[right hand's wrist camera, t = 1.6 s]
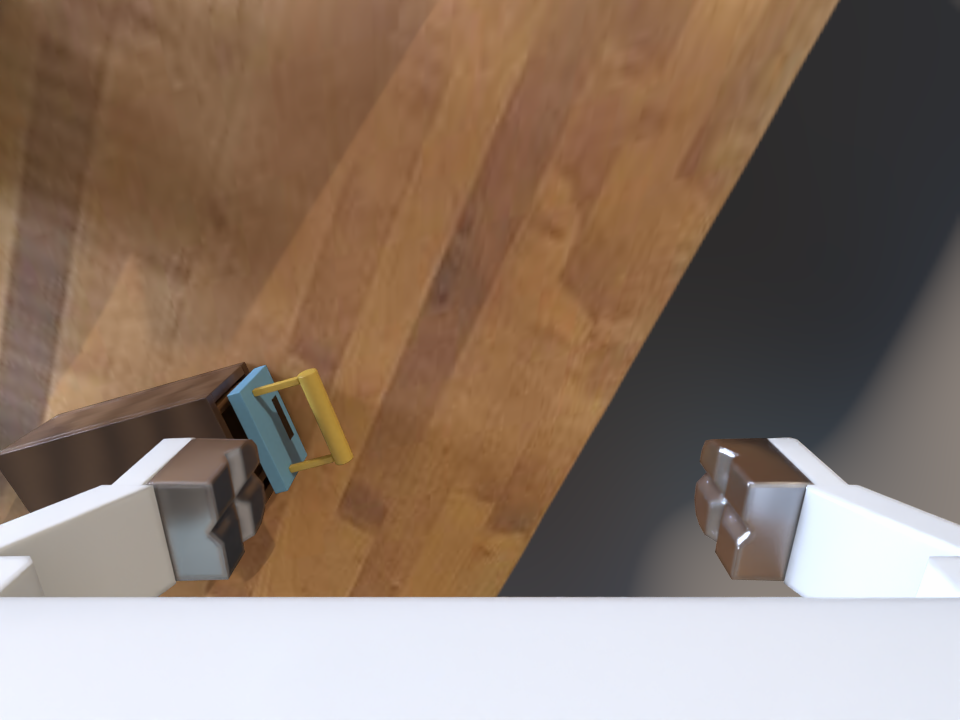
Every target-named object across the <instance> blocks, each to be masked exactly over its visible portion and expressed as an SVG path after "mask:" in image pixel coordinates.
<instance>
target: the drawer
mask: <svg viewBox="0 0 960 720" xmlns="http://www.w3.org/2000/svg"><path fill="white" fill-rule="evenodd" d="M299 384H301V387H302V389H303V391H304V393H305V396H306V398H307V400H308V402H309V405H310V407H311V409H312V412H313V414H314V416H315V418H316V421H317V423H318V425H319V427H320V430H321V432H322V434H323V436H324V439H325V441H326V443H327V446H328V448H329V450H330V452H331V454H330V455H326V456H322V457H318V458H315V459H311V460H307V461H304V460H305V458H306V456H307V453H306V451H305V449H304V447H303V445H302V442H301V440H300V438H299V436H298V434H297V432H296V429H295V427H294V425H293V423H292V421H291V418H290V416H289V414H288V412H287V410H286V408H285V405H284V403H283V401H282V399H281V397H280V395H279V392H278V390H281V389H285V388H289V387H292V386H296V385H299ZM215 403H216V405H217V407H218V409H219V411H220V413H221V415H222V417H223V419H224V421H225V423H226V425H227V427H228V429H229V431H230V433H231V435H232V437H233V439H252V440H253V441H254V442H255V444H256V445H257V448H258V453H259V458H260V463H259V464H258V466H257V467H256V469H255V470H254V474H255V475H256V476H257V477H258V478H259V479H260V480H261V481H262V482H263V481H264V479H265V478H266V476H267V477H268V479H269V481H270V483H271V485H272V487H273V489H274V491H275V493H276V494H277V493H281V492H284V491H288V489H289V487H290V485H291V484H292V482H293V480H294V478H295V476H296V475H297V473H298V471H301V470H305V469H309V468H313V467H316V466H320V465H324V464H328V463H332V462H334V461H335V464H337V465H343V464H346V463H348V462H349V461H351V460H352V458H353V454H352V452H351V449H350V447H349V445H348V442H347V440H346V438H345V435H344V433H343V431H342V428H341V426H340V423H339V421H338V419H337V416H336V414H335V412H334V409H333V407H332V405H331V402H330V400H329V398H328V395H327V393H326V391H325V388H324V386H323V383H322V381H321V379H320V376H319V374H318V372H317V369H315V368H313V369H308V370H305V371H303V372H301V373H300V374H299V375H298V376H297V377H294V378H290V379H287V380H283V381H280V382H276V383H274V381H273V379H272V377H271V375H270V373H269V371H268V368H267V366H266V365H264V366H261V367H257V368H254V369H253V370H252V371H251V372H250V373H249V374H248V375H247V376H246V377H245V378H244V379H243V380H242V381H241V382H237V383H234V384H233V385H232V386H231V387H230V388H229V389H228V390H227V391H226V392H225V393H224V394H223V395H222V396H221V397H220V398H219V399H218V400H217V401H216V402H215Z"/></svg>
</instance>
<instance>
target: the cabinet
mask: <svg viewBox="0 0 960 720" xmlns="http://www.w3.org/2000/svg"><path fill="white" fill-rule="evenodd" d="M248 374H249V371H248V368H247V366H246V364H245V362H243V363H239V364H236V365H232V366H229V367H225V368H221V369H218V370H214V371H211V372H207V373H204V374H200V375H197V376H193V377H189V378H186V379H182V380H179V381H175V382H172V383H168V384H165V385H161V386H158V387H154V388H150V389H147V390H143V391H140V392H136V393H133V394H129V395H126V396H122V397H119V398H115V399H111V400H108V401H104V402H101V403H97V404H94V405H90V406H87V407H83V408H80V409H76V410H72V411H69V412H65V413H62V414H58V415H57V416H55V417H54V418H52V419H50V420H49V421H47V422H46V423H44V424H43V425H41V426H39V427H38V428H36V429H35V430H33V431H32V432H30V433H28V434H27V435H25V436H24V437H22V438H21V439H19V440H17V441H16V442H14V443H13V444H11V445H10V446H8V447H6V448H5V449H3V450H2V451H0V470H1V472H2V473H3V475H4V476H5V478H6V479H7V480H8V482H9V483H10V485H11V486H12V488H13V489H14V490H15V492H16V493H17V495H18V496H19V498H20V499H21V501H22V502H23V503H24V505H25V506H26V508H27V509H28V511H29V512H30V513H32V512H35V511H37V510H40V509H42V508H45V507H47V506H50V505H52V504H55V503H58V502H60V501H63V500H65V499H68V498H70V497H73V496H75V495H78V494H81V493H83V492H86V491H88V490H91V489H93V488H96V487H98V486H101V485H112V484H113V483H114V482H115V481H117V480H118V479H119V478H120V477H121V476H122V475H123V474H124V473H126V472H127V471H128V470H129V469H130V468H131V467H132V466H134V465H135V464H136V463H137V462H138V461H139V460H140V459H142V458H143V457H144V456H145V455H146V454H147V453H148V452H150V451H151V450H152V449H153V448H154V447H155V446H156V445H157V444H159V443H160V442H161V441H162V440H163V439H170V438H196V439H198V438H207V439H233V437H232V435H231V433H230V431H229V429H228V427H227V425H226V423H225V421H224V419H223V417H222V415H221V413H220V411H219V409H218V407H217V405H216V403H215V402H216V401H217V400H218V399H219V398H220V397H221V396H222V395H223V394H224V393H225V392H226V391H227V390H228V389H229V388H230V387H231V386H232V385H233V384H234V383H237V382H241V381H242V380H243V379H244V378H245V377H246V376H247V375H248ZM263 483H264V490H265V504H266V502H267V501H268V499H269V497H270V496H271V494H272V492H273V491H274V489H273V487H272V485H271V483H270V481H269V479H268V477H267V476H266V478H265V479H264V481H263Z"/></svg>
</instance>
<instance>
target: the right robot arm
mask: <svg viewBox="0 0 960 720" xmlns="http://www.w3.org/2000/svg"><path fill="white" fill-rule="evenodd" d="M259 463H260V458H259V453H258V448H257V445H256V444H255V442H254V441H253V440H252V439H207V438H198V439H196V438H170V439H163V440H162V441H161V442H160V443H159V444H157V445H156V446H155V447H154V448H153V449H152V450H151V451H150V452H148V453H147V454H146V455H145V456H144V457H143V458H142V459H140V460H139V461H138V462H137V463H136V464H135V465H134V466H132V467H131V468H130V469H129V470H128V471H127V472H126V473H124V474H123V475H122V476H121V477H120V478H119V479H118V480H117V481H115V482H114V483H113V484H112V485H101V486H98V487H96V488H93V489H91V490H88V491H86V492H83V493H81V494H78V495H75V496H73V497H70V498H68V499H65V500H63V501H60V502H58V503H55V504H52V505H50V506H47V507H45V508H42V509H40V510H37V511H35V512H32V513H29V514H27V515H24V516H22V517H19V518H17V519H14V520H12V521H9V522H6V523H4V524H1V525H0V720H960V525H958V524H956V523H953V522H951V521H948V520H946V519H943V518H940V517H938V516H935V515H933V514H930V513H928V512H925V511H923V510H920V509H918V508H915V507H912V506H910V505H907V504H905V503H902V502H900V501H897V500H895V499H892V498H889V497H887V496H885V495H882V494H879V493H877V492H874V491H872V490H869V489H867V488H864V487H862V486H859V485H848V484H847V483H846V482H845V481H843V480H842V479H841V478H840V477H839V476H838V475H837V474H836V473H834V472H833V471H832V470H831V469H830V468H829V467H828V466H826V465H825V464H824V463H823V462H822V461H821V460H820V459H819V458H817V457H816V456H815V455H814V454H813V453H812V452H811V451H809V450H808V449H807V448H806V447H805V446H804V445H803V444H802V443H800V442H799V441H798V440H797V439H793V438H769V439H767V438H750V439H712V440H707V441H705V444H704V446H703V448H702V452H701V458H700V463H701V464H702V466H703V467H704V469H705V470H706V474H705V475H704V476H703V477H702V478H701V479H700V480H699V481H698V482H697V483H696V491H695V509H696V516H697V519H698V522H699V525H700V527H701V529H702V530H703V532H704V534H705V535H706V536H708V537H709V538H711V539H713V540H714V541H716V542H717V544H716V550H715V552H716V554H717V556H718V557H719V559H720V561H721V562H722V564H723V566H724V567H725V569H726V571H727V572H728V574H729V576H730V577H731V579H733V580H771V581H784V584H786V585H787V586H788V587H790V588H791V589H792V590H794V591H795V592H797V593H798V594H799V595H801V596H802V597H158V596H160V595H161V594H162V593H164V592H165V591H166V590H168V589H169V588H170V587H172V586H173V585H175V584H176V581H190V580H225V579H229V577H230V576H231V574H232V572H233V571H234V569H235V567H236V566H237V564H238V562H239V561H240V559H241V557H242V556H243V554H244V552H245V550H244V544H243V542H244V541H246V540H247V539H249V538H251V537H252V536H254V535H255V534H256V532H257V530H258V529H259V527H260V525H261V523H262V519H263V514H264V510H265V490H264V483H263V482H262V481H261V480H260V479H259V478H258V477H257V476H256V475H255V474H254V470H255V469H256V467H257V466H258V464H259Z"/></svg>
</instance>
